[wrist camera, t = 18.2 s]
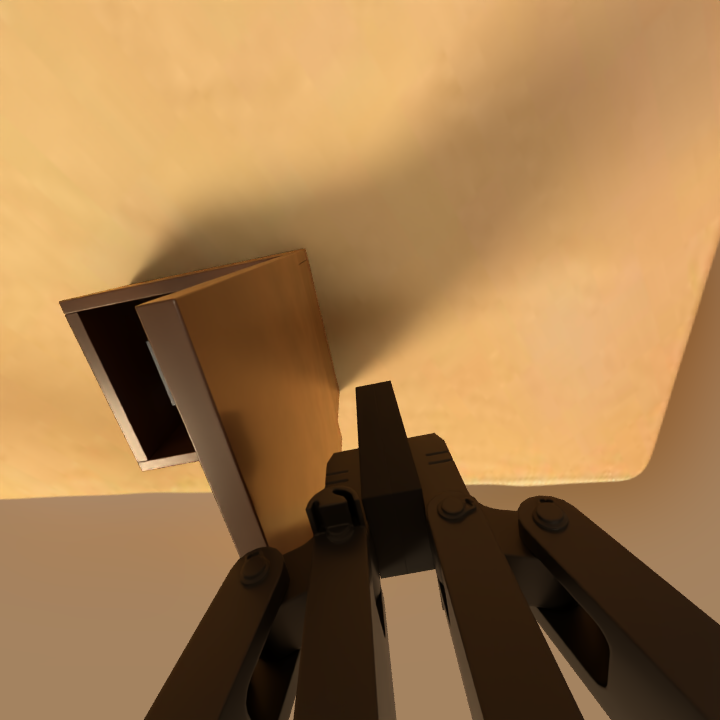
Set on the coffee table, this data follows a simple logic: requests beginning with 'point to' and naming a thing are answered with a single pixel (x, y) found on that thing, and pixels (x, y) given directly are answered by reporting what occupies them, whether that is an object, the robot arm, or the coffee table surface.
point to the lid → (250, 396)
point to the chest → (137, 368)
